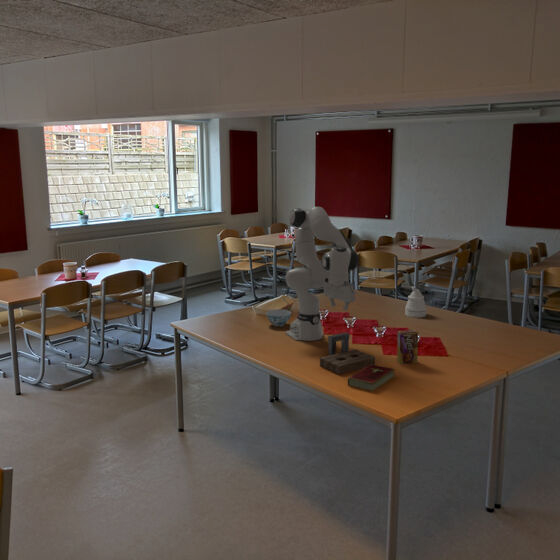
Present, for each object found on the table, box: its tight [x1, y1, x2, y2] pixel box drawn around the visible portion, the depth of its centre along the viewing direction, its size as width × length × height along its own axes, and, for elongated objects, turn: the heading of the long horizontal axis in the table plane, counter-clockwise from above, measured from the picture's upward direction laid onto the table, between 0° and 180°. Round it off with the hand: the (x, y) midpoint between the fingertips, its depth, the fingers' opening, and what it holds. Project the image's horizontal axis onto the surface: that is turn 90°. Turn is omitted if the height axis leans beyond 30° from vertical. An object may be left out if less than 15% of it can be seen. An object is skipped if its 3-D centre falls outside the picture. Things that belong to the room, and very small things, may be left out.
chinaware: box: [265, 309, 292, 327], centre depth 334 cm, size 15×15×8 cm
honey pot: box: [404, 286, 427, 318], centre depth 352 cm, size 13×13×18 cm
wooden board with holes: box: [319, 348, 376, 375], centre depth 264 cm, size 14×22×4 cm, turn 123°
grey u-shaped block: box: [327, 332, 350, 356], centre depth 278 cm, size 3×11×10 cm, turn 123°
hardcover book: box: [347, 364, 396, 392], centre depth 245 cm, size 12×21×4 cm, turn 143°
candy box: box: [396, 329, 419, 365], centre depth 266 cm, size 9×4×15 cm, turn 96°
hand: (339, 307), depth 275 cm, fingers open, 8 cm apart
